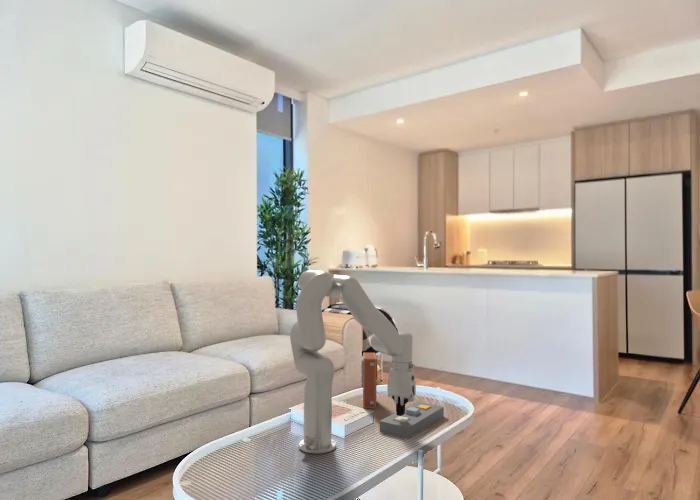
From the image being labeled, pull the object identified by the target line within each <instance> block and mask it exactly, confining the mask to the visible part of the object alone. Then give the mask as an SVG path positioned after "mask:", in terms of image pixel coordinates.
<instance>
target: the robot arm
mask: <svg viewBox="0 0 700 500" xmlns="http://www.w3.org/2000/svg"><path fill="white" fill-rule="evenodd" d="M298 287H299V288H300V290H301V291H300V292H299V295H298V297H297V301H296V308H295V309H296V310H295V311H296V319H297V322H295V323H294V324H293V325H292V327H291V329H290V333H289V334H290V335H289V338H290V345H291V351H292V357H293V363H294V365H295V368H296V370H297V372H298V373H299V374H300V375H302V376H303V377H304V378H306V380H305V386H304V392H303V439H301V440H300V441H299V442H298V448H299V450H301V451H302V452H304V453H308V454H317V455H318V454H325V453H329V452H332V451H333V450H334V449H336V447H337V442H336V441H335V440H334V439H333V438H332V419H333V418H332V417H333V416H332V415H333V411H332V410H333V409H332V408H333V405H332V404H333V403H332V402H333V399H332V398H333V382H334V377H335V366H334V365H335V364H334V362H333V360H331V358H330V357H329V356H328V355H326V354H323V353H321V352H319V351H320V350H322V348H324V347H325V345H326V341H327V337H326V330H325V326H324V325H325V324H324V319H323V310H322V309H323V308H322V305H323V302H324V300H325V298H326V297H327V298H328V297H329V298H336V299H340V300H341V301H342V303H343V304H344V305H345V307H346V308H347V310H348V311H349V313H350V314H351V316H352V317H353V319H354V320H355V321H356V322H357V323H358V324H359V325H360V326H362V327H363V328H365V329H367V330H368V331H370V332H371V333H373V335H371V338H370V346H371V348H372V349H373V350H375V351H376V352H378V353H382V354H385V355H386V356H387V355H388V356H391V367H390V368H389V372H388V377H387V389H386V390H387V397H389V398H391V399H392V400H393V402H394V404H395V413H396V412H397V413H396V415H399V416H402V415H404V413H405V408H406V405H407V404H408V403H410V402H412V403H413V402H414V401H415V397H414V396H416V394H417V385H416V375H415V370H414V368H415V367H416V365H415V364H414V363H413V335H412V333H411V332H407V331H398V330H397V328H396V327H395V326H394V324H392V322H391V321H390V320H389V319H388V318H387V317H386V316H385V315H384V314H383V313H382V312H381V311H380V310H379V309H378V308H377V307H376V306H375V305H374V303H373V302H372V301H371V298H369V296H368V294H367V293H366V291H365V290H364V289H363V286H362V285H361V284H360V282H359V281H358V279H356V277H353V276H351V275H343V274H342V275H341V274H332V273H329V272H328V271H325V270H321V269H320V270H317V269H316V270H315V269H308V270H305V271H303V272H302V273H301V274H300V275H299V278H298Z"/></svg>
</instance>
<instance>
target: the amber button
mask: <svg viewBox="0 0 700 500" xmlns="http://www.w3.org/2000/svg"><path fill="white" fill-rule="evenodd" d="M417 408H419V409H422V410H428V409H430V406H427V405H422V404H421V405H419V406H418V407H417Z"/></svg>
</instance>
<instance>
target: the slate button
mask: <svg viewBox="0 0 700 500" xmlns="http://www.w3.org/2000/svg"><path fill="white" fill-rule="evenodd" d="M406 414H407V415H411V416H418V415H419V414H420V409H419V408H414V407H410V408H408V409H406Z"/></svg>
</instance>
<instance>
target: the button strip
mask: <svg viewBox="0 0 700 500" xmlns="http://www.w3.org/2000/svg"><path fill="white" fill-rule="evenodd" d="M421 404H422V405H427V406H430V409H428V410H422V409H420V414H419V415H418V416H411V415H407V414H406V409H408V408H410V407H414V408H417V407H418V406H419V405H421ZM444 409H445V408H444V406H441V405H435V404H432V403H426V402H421V401H416V402H412V403H411V404H410V405H408V406H405V413H404V415H402V417H406V418H409V421H407V422H405V423H402V422H398V421H394V419H395V418H397V417H399V415H396V413H397V412H396V411H395V413H392V414H390V415H389V416H386V417H385V418H382V419H380V420H379V432H380V433H384V434H386V435H391V436H395V437H399V438H403V439H406V438H407V440H409V439H411V438H412V437H414V436H415V435H417V434H419V433H420V432H421V431H423V430H425V429H427V428H428V427H430V426H431V425H433V424H434V423H436V422H437V421H440V420H441V419H442V418H443V417H444V416H445V415H444V414H445V413H444ZM410 437H411V438H410Z"/></svg>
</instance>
